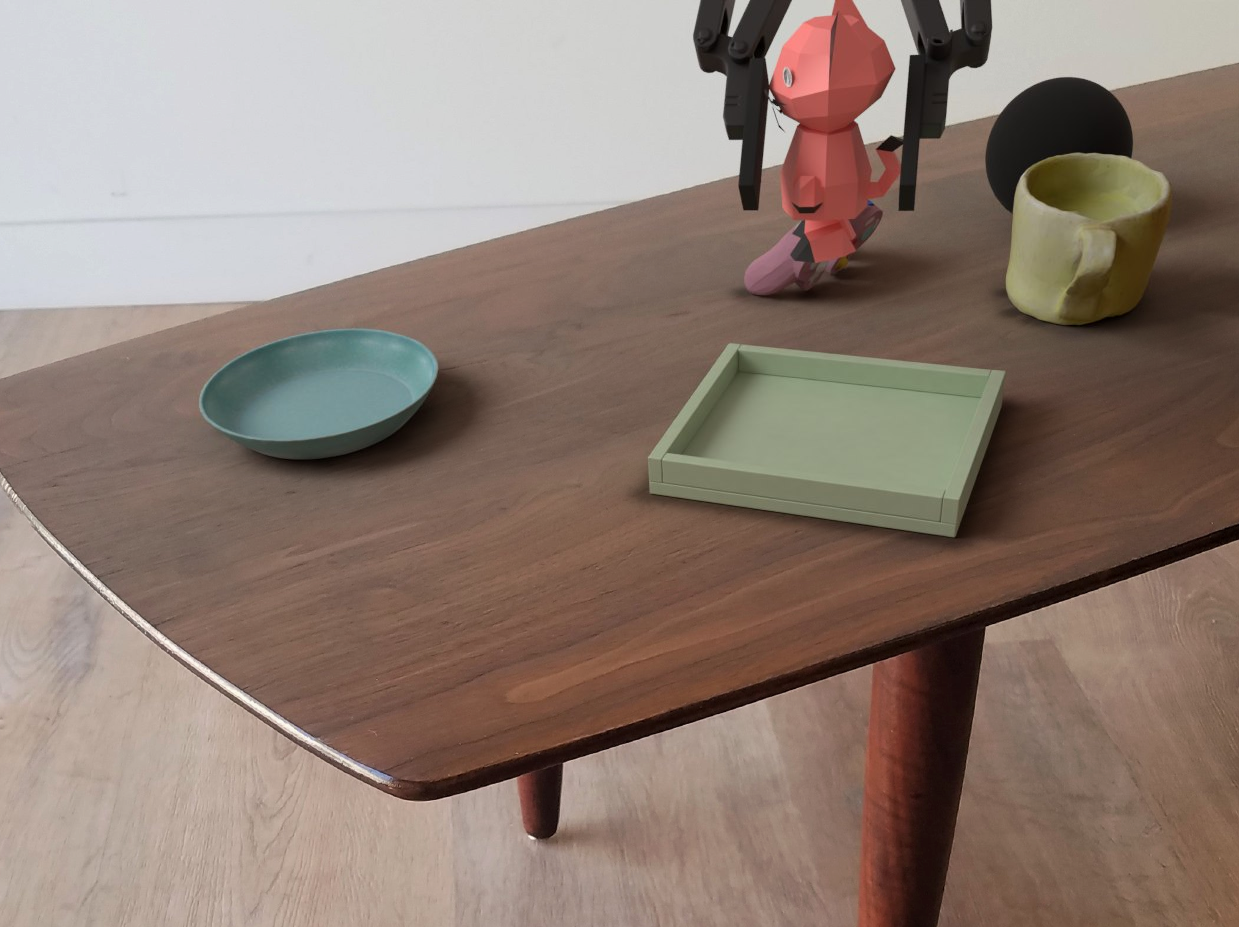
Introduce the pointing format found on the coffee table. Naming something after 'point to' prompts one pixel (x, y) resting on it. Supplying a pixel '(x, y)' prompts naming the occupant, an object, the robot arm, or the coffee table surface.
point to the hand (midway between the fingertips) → (826, 197)
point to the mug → (1085, 236)
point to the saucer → (320, 392)
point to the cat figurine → (831, 128)
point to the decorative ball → (1053, 130)
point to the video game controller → (783, 271)
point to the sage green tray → (832, 437)
